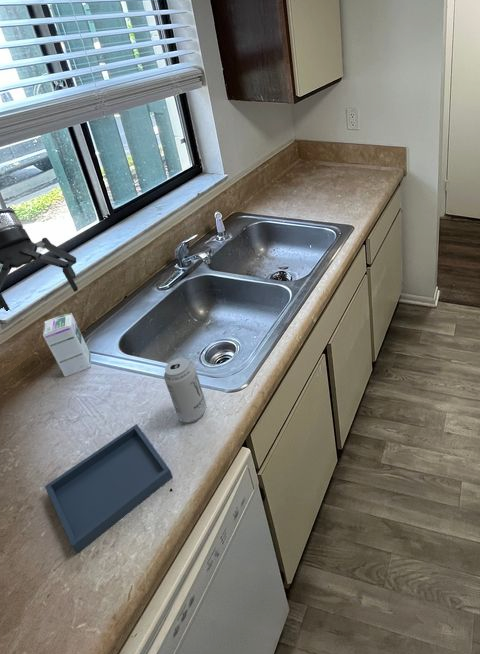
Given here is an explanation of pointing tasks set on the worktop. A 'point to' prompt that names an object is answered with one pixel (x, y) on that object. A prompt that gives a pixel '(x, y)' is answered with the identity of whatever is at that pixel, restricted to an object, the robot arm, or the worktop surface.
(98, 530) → the tray
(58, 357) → the syrup box
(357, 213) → the worktop surface
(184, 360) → the energy drink can
